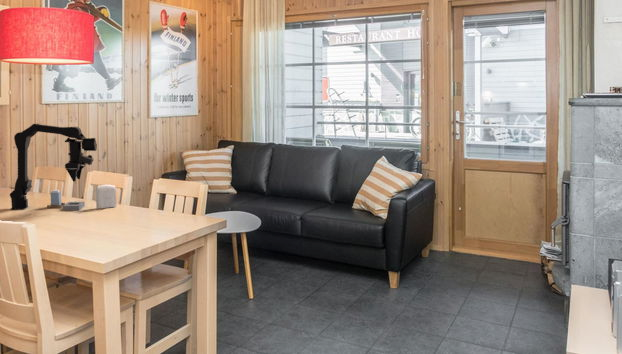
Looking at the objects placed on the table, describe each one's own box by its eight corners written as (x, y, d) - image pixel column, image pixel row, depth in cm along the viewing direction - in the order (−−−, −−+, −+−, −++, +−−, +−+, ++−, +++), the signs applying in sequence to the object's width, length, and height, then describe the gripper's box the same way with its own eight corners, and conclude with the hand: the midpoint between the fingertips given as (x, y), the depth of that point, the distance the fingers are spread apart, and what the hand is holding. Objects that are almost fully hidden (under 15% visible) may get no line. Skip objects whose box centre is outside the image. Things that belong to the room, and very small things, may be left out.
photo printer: (114, 205, 278) (113, 183, 277) (117, 207, 275) (116, 184, 273) (95, 208, 271) (94, 185, 269) (98, 209, 268) (97, 186, 266)
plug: (51, 207, 270) (50, 190, 268) (53, 206, 273) (52, 189, 272) (59, 207, 270) (58, 190, 269) (61, 206, 274) (60, 189, 273)
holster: (47, 208, 268) (46, 205, 267) (55, 202, 283) (55, 200, 282) (65, 208, 269) (65, 205, 269) (73, 202, 284) (73, 200, 284)
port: (62, 210, 262) (62, 205, 262) (68, 206, 274) (68, 201, 274) (79, 210, 264) (79, 204, 264) (84, 206, 276) (84, 200, 275)
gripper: (87, 152, 260) (88, 182, 262) (95, 149, 278) (96, 177, 280) (64, 152, 258) (65, 182, 260) (73, 149, 276) (74, 177, 278)
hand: (76, 180), depth 269 cm, fingers open, 9 cm apart
